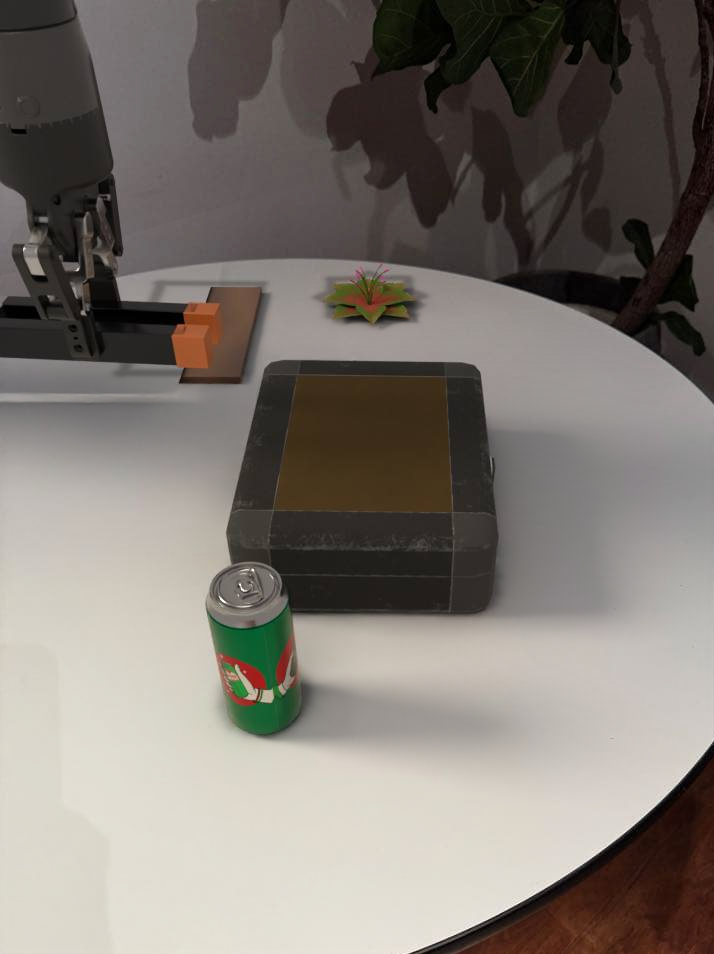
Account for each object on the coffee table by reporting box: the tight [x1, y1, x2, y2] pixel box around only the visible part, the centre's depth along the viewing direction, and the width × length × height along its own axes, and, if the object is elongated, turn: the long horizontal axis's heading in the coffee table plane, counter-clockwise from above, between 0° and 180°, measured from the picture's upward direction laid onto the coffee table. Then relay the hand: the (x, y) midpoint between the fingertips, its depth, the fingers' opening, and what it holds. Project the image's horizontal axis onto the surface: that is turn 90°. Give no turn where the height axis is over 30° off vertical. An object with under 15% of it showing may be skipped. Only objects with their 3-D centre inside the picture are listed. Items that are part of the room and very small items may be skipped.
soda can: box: [204, 562, 303, 735], centre depth 56 cm, size 5×5×12 cm
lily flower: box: [320, 263, 419, 326], centre depth 101 cm, size 12×12×5 cm
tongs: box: [0, 295, 224, 369], centre depth 66 cm, size 19×5×3 cm, turn 86°
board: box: [178, 286, 263, 384], centre depth 97 cm, size 12×20×1 cm, turn 1°
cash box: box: [225, 359, 499, 614], centre depth 73 cm, size 25×20×8 cm
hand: (99, 338), depth 66 cm, fingers closed on tongs, 4 cm apart
